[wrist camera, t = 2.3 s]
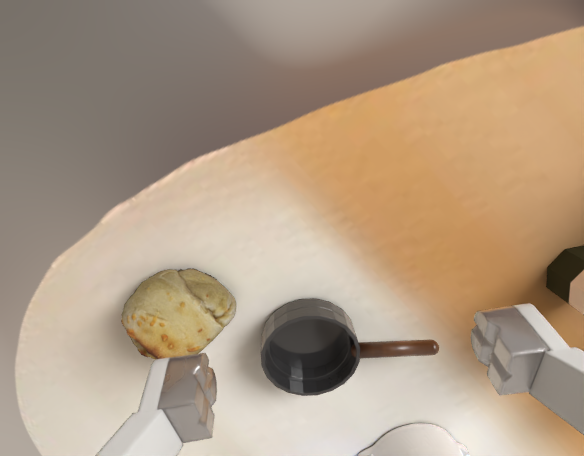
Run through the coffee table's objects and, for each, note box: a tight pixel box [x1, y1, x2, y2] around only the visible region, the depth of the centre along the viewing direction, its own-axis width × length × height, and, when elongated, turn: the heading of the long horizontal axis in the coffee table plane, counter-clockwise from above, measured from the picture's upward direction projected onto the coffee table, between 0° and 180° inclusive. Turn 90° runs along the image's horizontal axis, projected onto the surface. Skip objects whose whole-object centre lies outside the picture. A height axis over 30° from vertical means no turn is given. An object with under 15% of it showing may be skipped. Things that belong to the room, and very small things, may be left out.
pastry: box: [121, 269, 236, 359], centre depth 46 cm, size 14×12×8 cm
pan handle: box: [351, 340, 439, 358], centre depth 50 cm, size 12×2×2 cm, turn 90°
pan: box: [261, 299, 360, 396], centre depth 51 cm, size 13×13×4 cm
